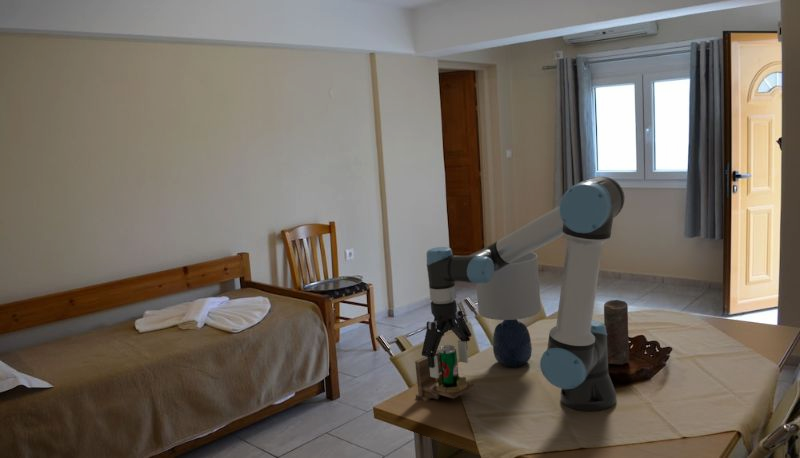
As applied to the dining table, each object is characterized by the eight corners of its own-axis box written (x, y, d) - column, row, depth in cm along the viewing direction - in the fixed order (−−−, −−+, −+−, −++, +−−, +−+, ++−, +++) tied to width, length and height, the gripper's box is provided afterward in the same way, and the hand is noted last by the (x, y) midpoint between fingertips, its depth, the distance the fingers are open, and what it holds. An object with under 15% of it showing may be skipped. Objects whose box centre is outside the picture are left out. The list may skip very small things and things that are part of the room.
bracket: (476, 395, 194) (472, 357, 192) (453, 409, 186) (449, 369, 185) (439, 385, 204) (435, 349, 202) (415, 398, 196) (412, 360, 195)
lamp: (470, 366, 217) (461, 259, 212) (508, 348, 231) (500, 247, 225) (519, 379, 202) (510, 265, 197) (556, 359, 216) (549, 251, 210)
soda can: (458, 389, 190) (454, 350, 188) (441, 389, 191) (437, 350, 189) (460, 382, 195) (456, 344, 193) (443, 382, 196) (439, 344, 194)
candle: (632, 360, 209) (629, 300, 206) (627, 368, 203) (624, 307, 199) (608, 357, 213) (605, 299, 210) (602, 365, 207) (599, 305, 204)
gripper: (459, 288, 200) (465, 353, 204) (404, 310, 183) (412, 381, 186) (479, 290, 195) (484, 357, 198) (424, 313, 177) (431, 386, 181)
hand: (449, 369), depth 192 cm, fingers open, 13 cm apart
